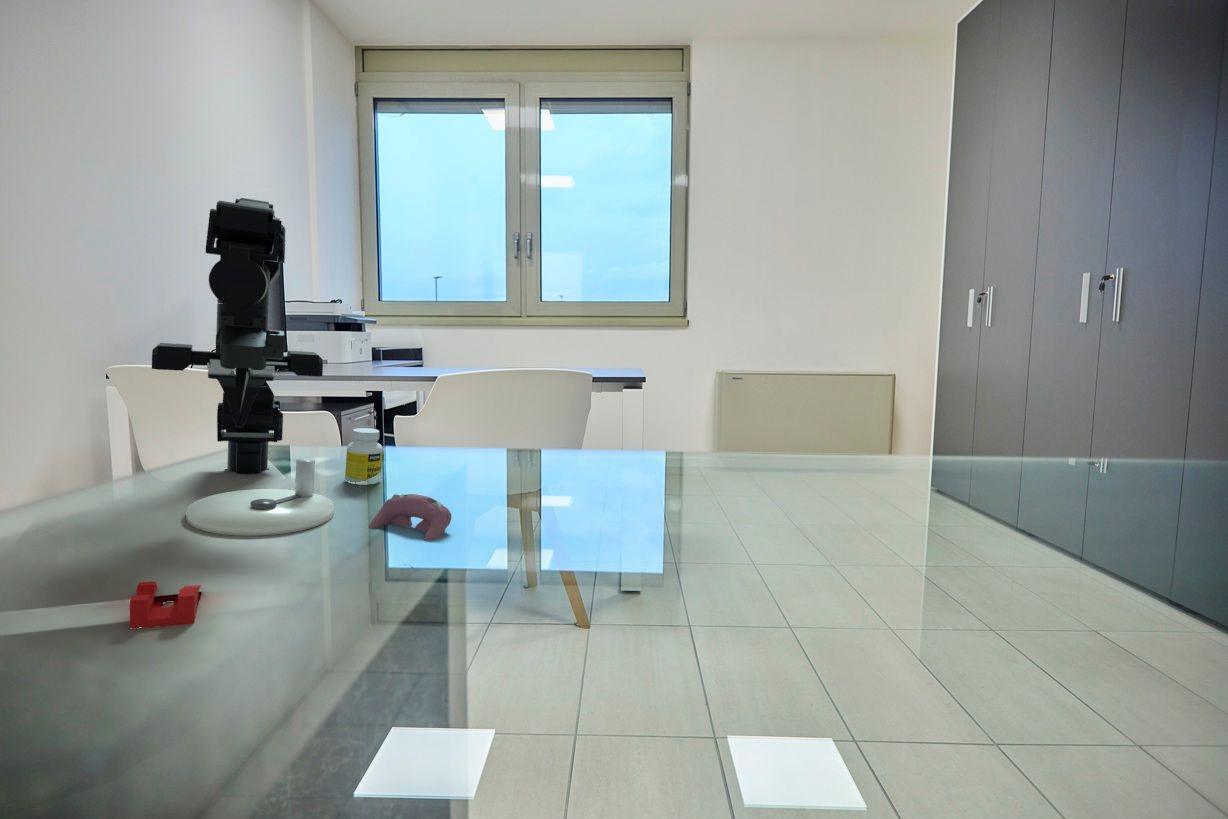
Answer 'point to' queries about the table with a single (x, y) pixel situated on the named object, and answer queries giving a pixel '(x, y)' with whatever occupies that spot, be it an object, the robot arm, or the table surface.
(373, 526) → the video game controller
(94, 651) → the table surface
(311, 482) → the dial
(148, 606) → the bracket
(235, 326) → the robot arm
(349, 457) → the supplement bottle
